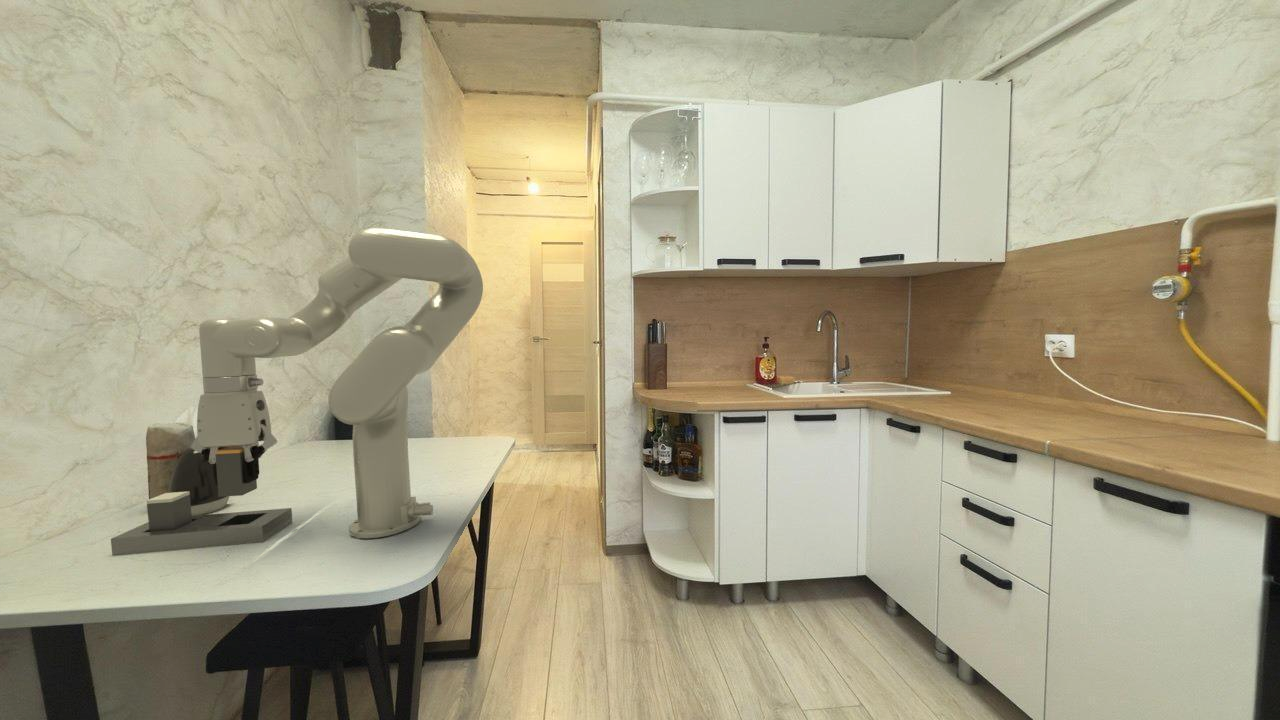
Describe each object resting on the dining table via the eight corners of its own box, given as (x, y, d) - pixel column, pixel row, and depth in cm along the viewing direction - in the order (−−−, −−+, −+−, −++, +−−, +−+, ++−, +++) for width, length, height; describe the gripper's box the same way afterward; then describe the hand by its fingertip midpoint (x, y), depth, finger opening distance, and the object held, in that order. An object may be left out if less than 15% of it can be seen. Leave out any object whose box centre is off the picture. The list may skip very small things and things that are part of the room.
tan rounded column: (172, 504, 110) (164, 420, 109) (210, 501, 111) (202, 419, 110) (137, 518, 102) (128, 428, 100) (179, 515, 103) (170, 426, 101)
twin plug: (193, 535, 89) (189, 491, 89) (175, 544, 85) (171, 498, 85) (169, 537, 88) (165, 493, 88) (151, 546, 85) (146, 500, 84)
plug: (257, 488, 90) (254, 444, 90) (242, 495, 86) (239, 449, 86) (234, 489, 90) (231, 445, 89) (218, 496, 86) (215, 450, 85)
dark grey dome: (194, 525, 97) (188, 453, 96) (156, 522, 99) (149, 452, 98) (245, 506, 107) (239, 441, 106) (209, 505, 109) (203, 441, 108)
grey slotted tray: (292, 527, 94) (291, 507, 94) (263, 547, 85) (262, 526, 85) (157, 538, 90) (156, 518, 90) (112, 560, 82) (110, 538, 81)
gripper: (291, 382, 92) (297, 473, 93) (196, 385, 89) (203, 478, 90) (267, 386, 84) (273, 485, 85) (162, 389, 82) (170, 491, 83)
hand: (237, 480), depth 88 cm, fingers closed on plug, 4 cm apart
